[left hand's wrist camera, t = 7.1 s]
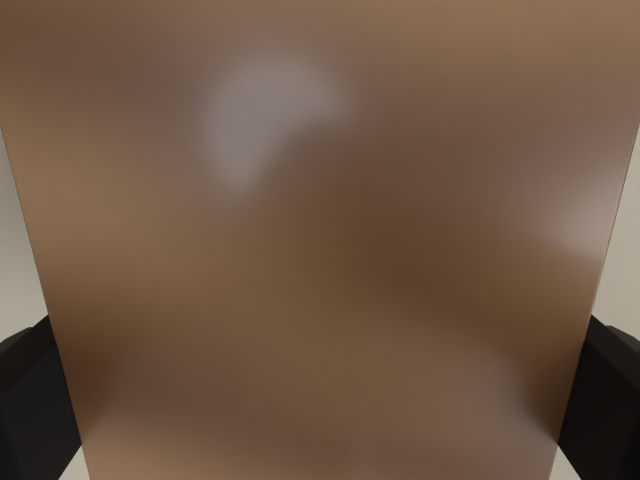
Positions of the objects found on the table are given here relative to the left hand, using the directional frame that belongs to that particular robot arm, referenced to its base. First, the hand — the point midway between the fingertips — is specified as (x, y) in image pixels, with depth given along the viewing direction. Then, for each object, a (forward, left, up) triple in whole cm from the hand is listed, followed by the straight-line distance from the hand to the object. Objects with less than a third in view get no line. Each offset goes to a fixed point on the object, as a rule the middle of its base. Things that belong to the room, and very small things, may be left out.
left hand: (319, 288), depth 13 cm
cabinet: (+5, -4, -5) cm, 8 cm away
